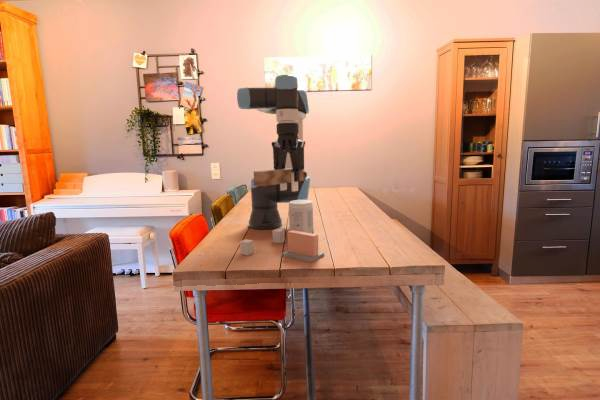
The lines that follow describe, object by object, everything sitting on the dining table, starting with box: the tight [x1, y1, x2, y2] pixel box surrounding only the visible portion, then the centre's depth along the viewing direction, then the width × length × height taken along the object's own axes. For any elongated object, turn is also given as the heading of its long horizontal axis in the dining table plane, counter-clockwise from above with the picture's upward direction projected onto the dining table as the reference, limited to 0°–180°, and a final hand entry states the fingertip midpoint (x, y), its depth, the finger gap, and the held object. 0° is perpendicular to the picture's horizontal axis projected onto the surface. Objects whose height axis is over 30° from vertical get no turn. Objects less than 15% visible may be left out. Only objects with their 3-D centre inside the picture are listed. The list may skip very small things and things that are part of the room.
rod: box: [253, 168, 304, 186], centre depth 122 cm, size 20×4×4 cm, turn 141°
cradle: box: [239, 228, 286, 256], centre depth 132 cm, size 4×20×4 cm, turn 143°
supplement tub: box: [288, 199, 315, 234], centre depth 143 cm, size 10×10×15 cm
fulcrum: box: [281, 230, 325, 264], centre depth 121 cm, size 12×8×8 cm, turn 53°
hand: (289, 190), depth 126 cm, fingers closed on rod, 4 cm apart
